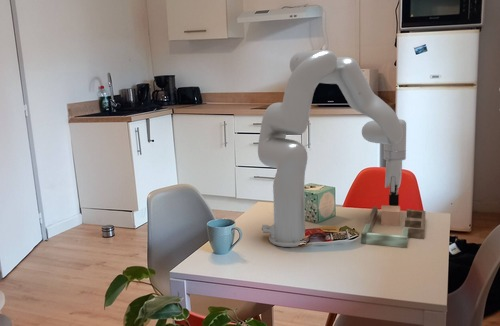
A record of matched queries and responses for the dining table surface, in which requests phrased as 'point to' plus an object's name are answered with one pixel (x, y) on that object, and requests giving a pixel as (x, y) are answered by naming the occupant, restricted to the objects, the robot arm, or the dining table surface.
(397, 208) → the block
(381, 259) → the dining table surface
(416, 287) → the dining table surface
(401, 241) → the box
